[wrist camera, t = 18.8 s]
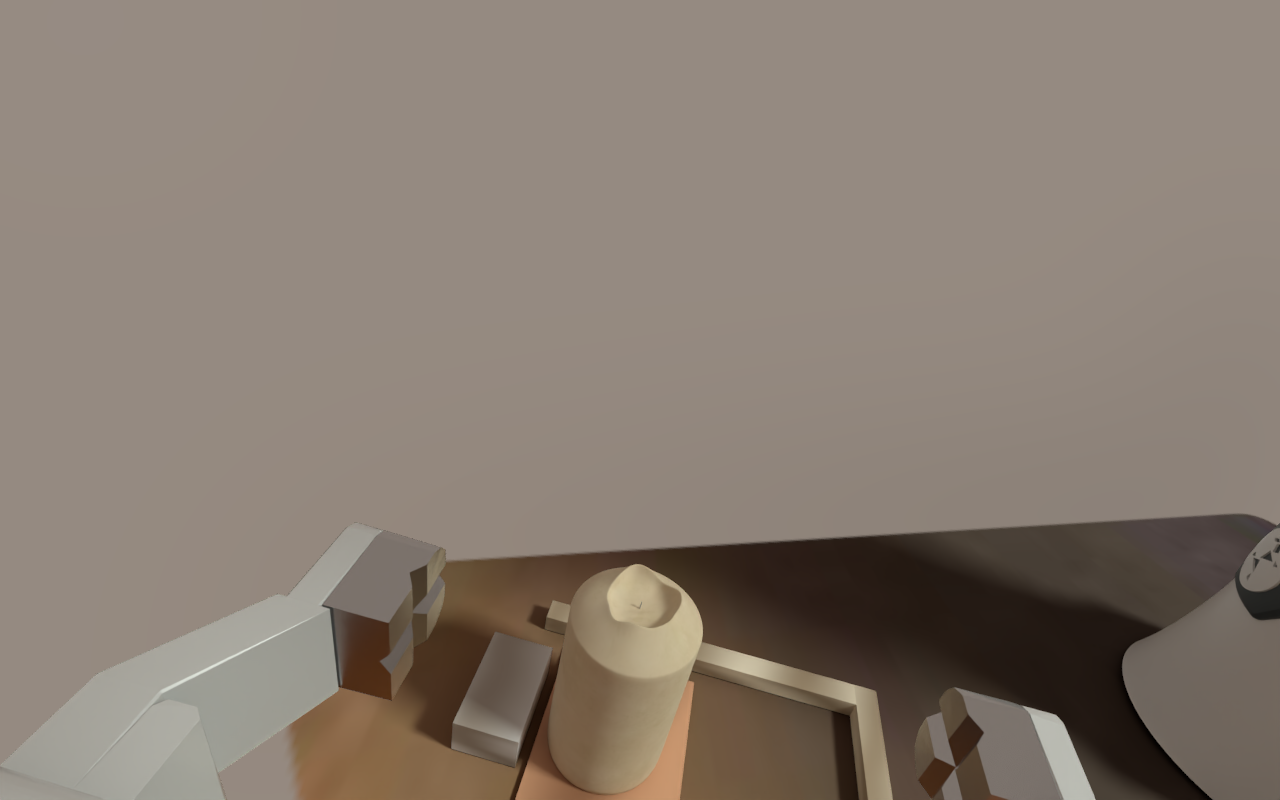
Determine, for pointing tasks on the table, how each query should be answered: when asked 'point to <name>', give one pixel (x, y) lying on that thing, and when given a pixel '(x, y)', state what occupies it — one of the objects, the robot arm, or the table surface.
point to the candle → (621, 677)
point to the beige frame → (545, 796)
